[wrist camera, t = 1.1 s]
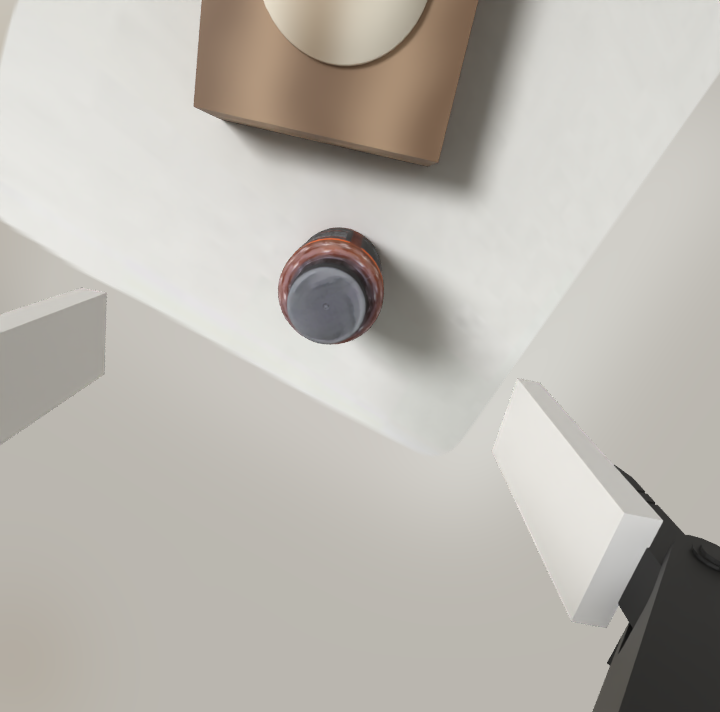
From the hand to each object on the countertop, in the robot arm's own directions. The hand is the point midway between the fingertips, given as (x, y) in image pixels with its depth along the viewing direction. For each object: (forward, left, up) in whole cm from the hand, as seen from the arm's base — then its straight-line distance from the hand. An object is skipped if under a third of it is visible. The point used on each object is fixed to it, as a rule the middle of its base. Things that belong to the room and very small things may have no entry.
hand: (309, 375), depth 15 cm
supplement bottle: (0, 0, -20) cm, 20 cm away
